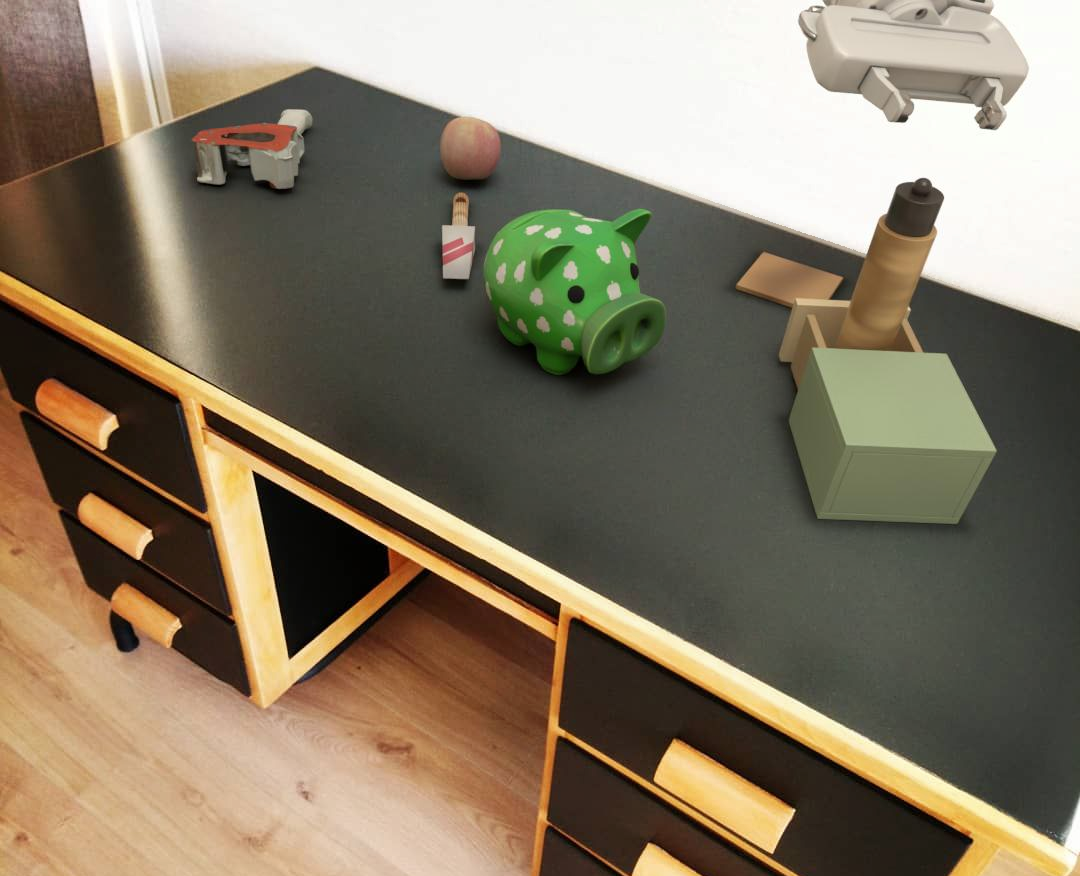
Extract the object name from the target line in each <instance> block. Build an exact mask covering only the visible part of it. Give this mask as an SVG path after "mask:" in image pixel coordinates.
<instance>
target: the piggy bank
mask: <svg viewBox="0 0 1080 876" xmlns="http://www.w3.org/2000/svg"><path fill="white" fill-rule="evenodd" d="M651 218H652V212H651V211H650V210H647V209H644V208H637V209H633V210H630V211H628V212H626V213H625V214H623V215H621V216H619V217H618V218H616V219H614V220H613V221H609V220H604V219H600V218H591V217H587V216H585V215H583V214H582V213H579V212H577V211H575V210H572V209H543V210H535V211H531V212H527V213H525V214H523V215H520V216H518V217H516V218H514V219H513V220H511V221H509V222H508V223H507V224H505V225H504V226H503V227H502V228H501V229H500V230H498V232H497V233H496V234H495V235H494V237H493V238H492V241H491V242H490V244H489V247H488V250H487V253H486V255H485V258H484V263H483V272H482V273H483V274H482V278H483V286H484V290H485V293H486V296H487V300H488V301H489V305H490V306H491V309H493V312H495V314H496V320H497V325H498V328H499V331H500V332H501V333H502V335H503V337H504V338H505V339H506V340H508V341H509V342H510V343H512V344H513V345H515V346H518V347H522V346H526V345H529V344H532V345H533V346H534V347H535V349H536V360H537V362H538V364H539V365H540V367H541V369H543V370H544V371H546V372H548V373H549V374H551V375H555V376H562V375H565V374H567V373H569V372H571V371H572V369H574V368H575V367H576V366H577V364H578V361H579V360H580V358H582V361H583V364H584V366H585V368H586V369H587V371H588V372H589V373H590V374H592V375H603V374H607V373H610V372H613V371H614V370H616V369H618V368H620V367H621V366H622V365H623V364H624V363H629V362H630V363H631V362H634V361H636V360H638V359H640V358H642V357H644V356H645V355H646V354H647V353H649V352H650V351H652V349H653V348H654V347H655V346H656V345H657V344H658V343H659V342H660V340H661V338H662V336H663V334H664V332H665V327H666V322H667V311H666V306H665V304H664V303H663V302H662V301H661V300H659V299H658V298H655V297H652V296H650V295H647V294H646V293H645V294H644V293H641V289H640V279H639V276H640V269H639V267H638V261H637V256H636V249H635V244H636V242H637V241H638V239H639V237H640V235H641V234H642V233H643V231H644V229H645V228H646V227H647V225H648V224H649V222H650V221H651Z"/></svg>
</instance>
